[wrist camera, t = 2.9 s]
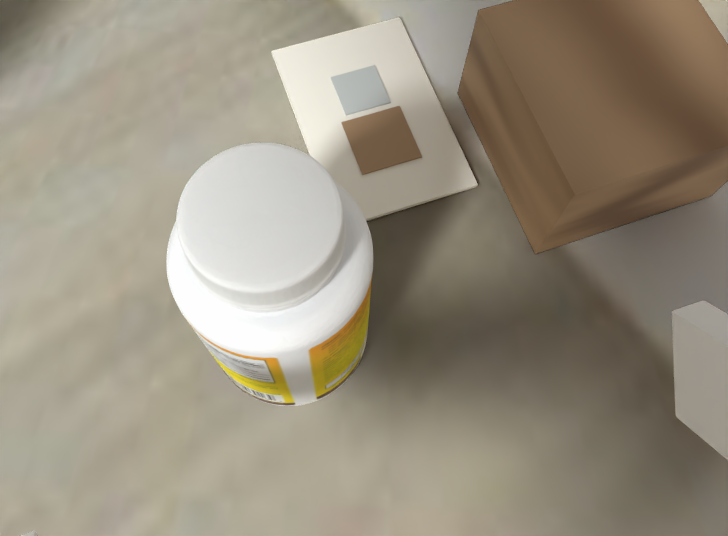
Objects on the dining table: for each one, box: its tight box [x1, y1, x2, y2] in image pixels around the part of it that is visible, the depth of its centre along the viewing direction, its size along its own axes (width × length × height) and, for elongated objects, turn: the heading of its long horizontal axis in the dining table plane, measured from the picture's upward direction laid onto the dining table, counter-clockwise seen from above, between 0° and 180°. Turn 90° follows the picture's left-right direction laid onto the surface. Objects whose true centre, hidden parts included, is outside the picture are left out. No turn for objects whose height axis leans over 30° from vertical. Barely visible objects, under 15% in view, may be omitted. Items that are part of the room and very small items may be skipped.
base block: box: [458, 0, 728, 254], centre depth 27 cm, size 8×8×5 cm
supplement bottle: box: [166, 142, 373, 406], centre depth 21 cm, size 6×6×10 cm
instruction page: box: [271, 17, 478, 221], centre depth 29 cm, size 6×9×1 cm, turn 20°
